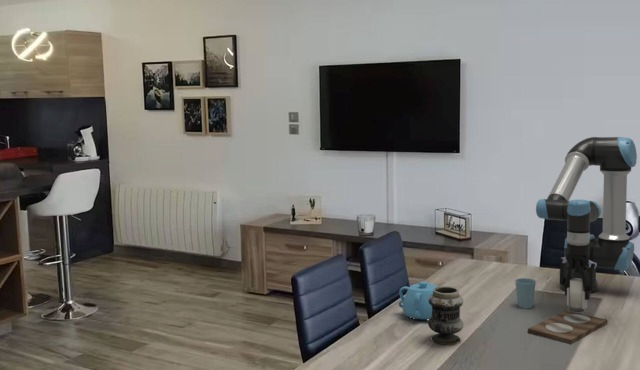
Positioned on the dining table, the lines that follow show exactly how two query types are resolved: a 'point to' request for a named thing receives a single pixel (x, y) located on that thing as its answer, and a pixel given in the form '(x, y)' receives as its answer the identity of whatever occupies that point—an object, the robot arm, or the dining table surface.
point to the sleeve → (576, 294)
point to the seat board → (567, 326)
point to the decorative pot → (417, 300)
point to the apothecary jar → (445, 314)
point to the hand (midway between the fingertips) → (577, 306)
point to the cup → (525, 292)
